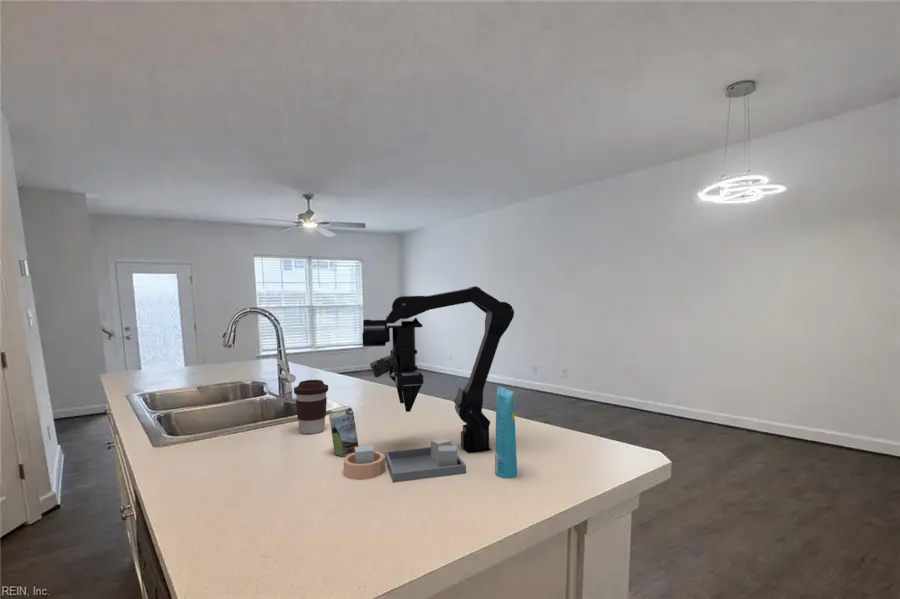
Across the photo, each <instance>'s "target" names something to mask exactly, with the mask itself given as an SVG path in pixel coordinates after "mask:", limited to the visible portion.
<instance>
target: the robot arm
mask: <svg viewBox="0 0 900 599" xmlns="http://www.w3.org/2000/svg"><path fill="white" fill-rule="evenodd" d="M466 303H467V304H468V303H472V304H474V306H476V307H477V308H478V309H480V310H481V311H482V312H484V313H485V318H484V334H483V337H482V339H481V340H482V341H481V343H480V346H479V348H478V351H477V355H476V358H475V361H474V364H473V366H472V370H471V373H470V376H469V378H468V382H467V384H466V385H465V386H464V388H461V387H458V389H457V394H456V396H455V398H454V399H453V402H454V409H455V410H454V411H455V412H456V414H457V415H458V417H459V418H460V420H461V421H462V422H464V423H465V424H462V430H461V431H460V448H461V449H462V450H464V451H465V452H466V453H467V454H475V453H477V454H478V453H483V452H491V451H492V448H491V447H490V424H491V421H490V419H489V418H487V416H486V415H485V414H484V413H483V404H484V390H485V386H486V383H487V379H488V376H489V374H490V370H491V368H492V364H493V361H494V358H495V355H496V352H497V350H498V346H499V344H500V340H501V338H502V336H504V334H505V332H506V331H507V330H508V328H509V327H510V324H511V322H512V321H513V319H514V316H515V310H514V308H513V306H512V305H511V304H510V303H508V302H506V301H500V300H498V299H497V298H495V297H493V296H492V295H490V294H489V293H487V292H485V291H484V290H483V289H482V288H481V287H479V286H477V285H476V286H470V287H468V288H464V289H457V290H451V291H447V292H441V293H435V294H431V295H400V296H398V297H396V298H395V299H394V300H393V302H392V304H391V311H390V313H388V315H386V318H385V319H363V323H362V324H363V325H362V330H363V331H362V332H361V333H362V348H363V347H364V348H367V347H386V343H387V344H388V343H390V342H391V336H392V349H391V350H389V351H390V352H389V353H390V355H387V356H384V357H381V358H380V359H376V360H374V361H372V362H370V363H369V366H370V368H371V372H372V373H373V376H374V377H375V378H380V377H381V376H382V375H384V374H386V373H387V374H388V377H389V378H390V379H391V380H392V381H393V382H394V383H395V387H396V392H397V395H398V396H397V397H398V400H399V403H400V404H404V410H405V412H407V413H409V412H411V411H412V409H413V406H414V403H415V401H416V399H417V396H418V394H419V392H420V390H421V388H422V386H423V384H424V374H422V373H421V372H420V371H419V370H418V366H417V365H416V360H417V359H416V358H417V357H416V355H417V354H418V350H417V349H416V328H423V324H422V323H421V322H420V321H419V319H418V318H416V317H415V316H418V315H420V314H423V313H425V312H428V311H430V310H436V309H441V308H444V307H445V308H446V307H451V306H457V305H461V304H466ZM412 317H414V318H413V319H412V320H407V319H410V318H412ZM401 319H402V320H401ZM399 320H401V321H400V324H396V325H395V323H397V322H399ZM389 324H392V325H389ZM390 330H392V332H390ZM391 333H392V334H391Z"/></svg>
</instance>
